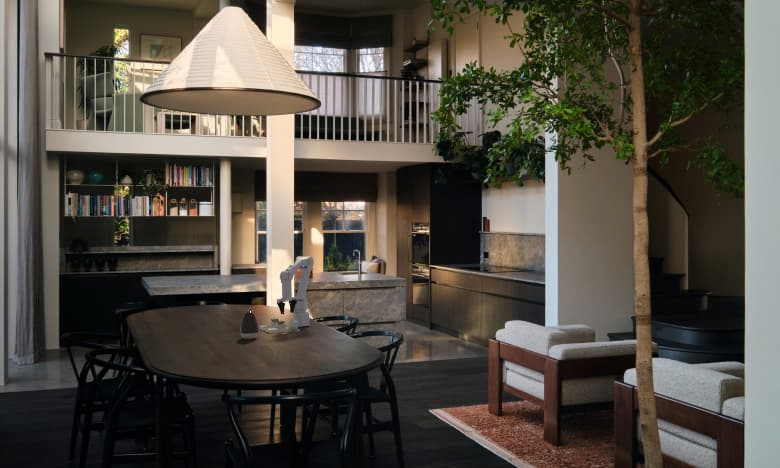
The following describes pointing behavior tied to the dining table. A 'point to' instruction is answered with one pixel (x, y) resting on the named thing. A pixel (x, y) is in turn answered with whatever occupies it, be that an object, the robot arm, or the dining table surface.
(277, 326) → the housing
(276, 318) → the plunger
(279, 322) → the plunger
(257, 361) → the dining table surface
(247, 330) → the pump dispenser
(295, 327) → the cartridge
